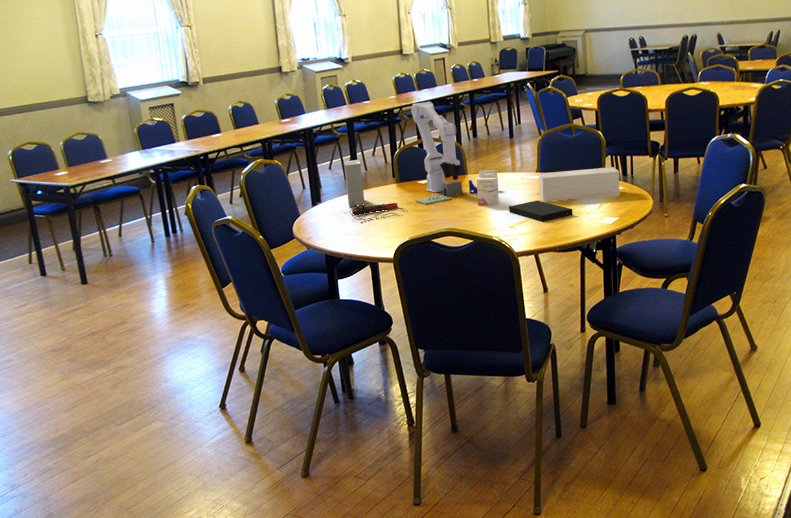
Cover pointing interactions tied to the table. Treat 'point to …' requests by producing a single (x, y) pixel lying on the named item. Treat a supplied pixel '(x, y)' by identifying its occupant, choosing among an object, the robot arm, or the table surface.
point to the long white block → (579, 184)
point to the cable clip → (472, 187)
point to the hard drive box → (354, 182)
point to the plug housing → (452, 188)
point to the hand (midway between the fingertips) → (451, 178)
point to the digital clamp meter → (374, 209)
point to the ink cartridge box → (487, 188)
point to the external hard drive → (540, 211)
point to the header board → (433, 199)
